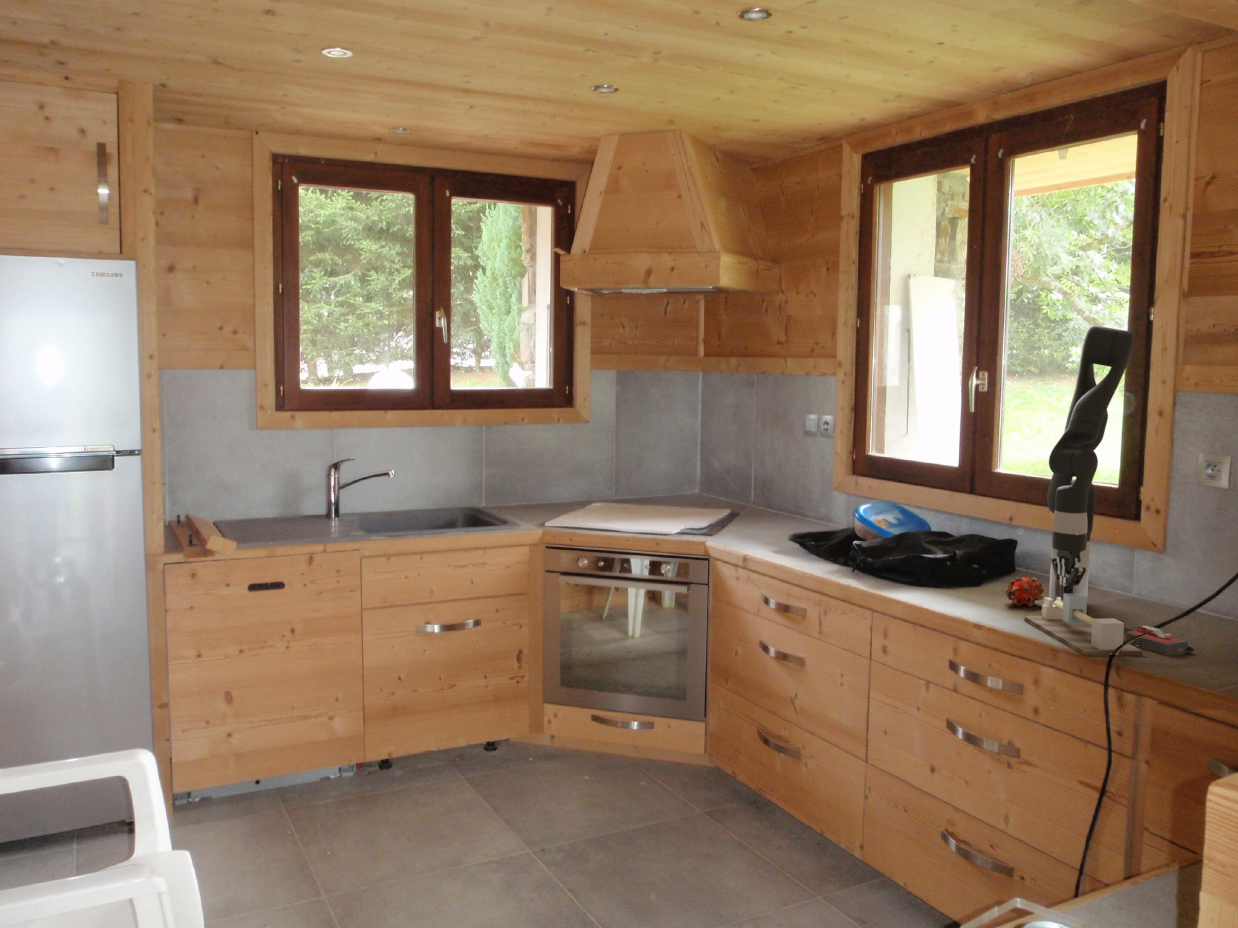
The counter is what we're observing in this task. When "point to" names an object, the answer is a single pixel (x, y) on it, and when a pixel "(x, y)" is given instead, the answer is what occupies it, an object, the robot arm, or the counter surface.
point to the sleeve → (1073, 606)
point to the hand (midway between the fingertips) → (1066, 600)
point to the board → (1076, 636)
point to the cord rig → (1103, 630)
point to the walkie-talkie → (1157, 641)
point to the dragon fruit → (1024, 591)
